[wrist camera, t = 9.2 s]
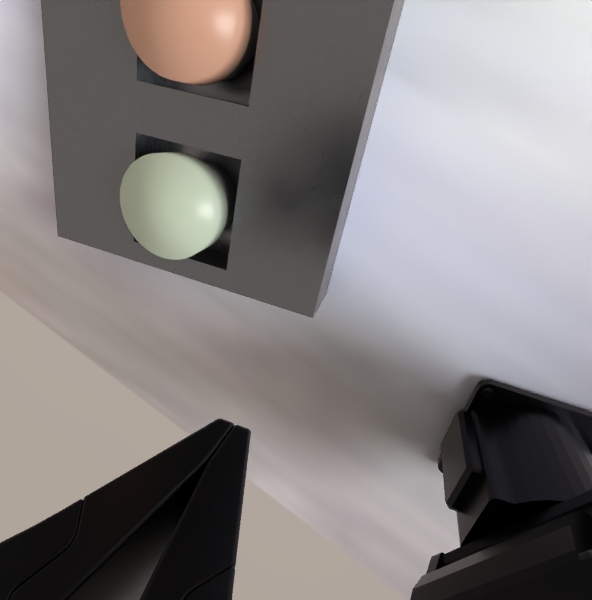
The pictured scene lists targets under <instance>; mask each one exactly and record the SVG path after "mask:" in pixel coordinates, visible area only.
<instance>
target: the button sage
mask: <svg viewBox="0 0 592 600" xmlns="http://www.w3.org/2000/svg"><path fill="white" fill-rule="evenodd" d="M235 204H236V195H235V190H234V187H233V185H232V183H231V181H230V179H229V177H228V176H227V175H226V173H225V172H224V171H223V170H222V169H221V168H220V167H218V166H217V165H215V164H213V163H211V162H209V161H206V160H201V159H199V158H197V157H195V156H193V155H191V154H188V153H183V152H165V153H152V154H147V155H144V156H142V157H140V158H138V159H137V160H135V161H134V162H133V163H132V164H131V165H130V166H129V168H128V169H127V171H126V172H125V174H124V176H123V179H122V182H121V187H120V205H121V210H122V214H123V217H124V220H125V222H126V224H127V226H128V228H129V230H130V232H131V233H132V235H133V236H134V237H135V239H136V240H137V241H138V242H139V243H140V244H141V245H142V246H143V247H144V248H145V249H147V250H148V251H150V252H151V253H153V254H155V255H157V256H159V257H162V258H166V259H171V260H180V259H185V258H188V257H191V256H193V255H194V254H196V253H198V252H200V251H202V250H204V249H206V248H207V247H209V246H211V245H212V244H213V243H215V242H216V241H217V240H218V239H219V237H220V236H221V234H222V232H223V230H224V229H225V228H226V227H227V226H228V225H229V224H230V222H231V221H232V219H233V217H234V211H235Z"/></svg>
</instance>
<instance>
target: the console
mask: <svg viewBox="0 0 592 600" xmlns="http://www.w3.org/2000/svg"><path fill="white" fill-rule="evenodd" d="M253 2H254V4H255V7H256V10H257V14H258V18H259V33H258V41H257V48H256V52H255V54H254V56H253V58H252V60H251V62H250V63H249V65H248V66H247V67H246V68H245V69H244V70H243V71H242V72H241V73H240V74H239V75H237V76H235V77H233V78H230V79H227V80H221V81H219V82H217V83H214V84H211V85H206V86H197V85H190V84H186V83H182V82H178V81H173V80H170V79H167V78H164V77H162V76H160V75H158V74H157V73H155V72H154V71H152V70H151V69H150V68H149V67H148V66H146V65H145V63H144V62H143V61H142V60H141V59H140V58H139V56H138V55H137V53H136V52H135V50H134V48H133V47H132V45H131V43H130V41H129V38H128V36H127V33H126V30H125V27H124V24H123V19H122V14H121V7H120V0H41V7H42V21H43V35H44V49H45V63H46V77H47V91H48V105H49V119H50V133H51V147H52V161H53V175H54V189H55V203H56V216H57V230H58V236H60V237H63V238H66V239H69V240H72V241H75V242H79V243H82V244H85V245H88V246H91V247H94V248H97V249H100V250H103V251H107V252H110V253H113V254H116V255H119V256H122V257H125V258H128V259H131V260H134V261H138V262H141V263H144V264H147V265H150V266H153V267H156V268H159V269H162V270H166V271H169V272H172V273H175V274H178V275H181V276H184V277H187V278H190V279H194V280H197V281H200V282H203V283H206V284H209V285H212V286H215V287H218V288H221V289H225V290H228V291H231V292H234V293H237V294H240V295H243V296H246V297H249V298H253V299H256V300H259V301H262V302H265V303H268V304H271V305H274V306H277V307H280V308H284V309H287V310H290V311H293V312H296V313H299V314H302V315H305V316H308V317H312V318H313V316H314V315H315V313H316V311H317V309H318V308H319V306H320V304H321V302H322V300H323V299H324V297H325V295H326V292H327V289H328V285H329V281H330V277H331V274H332V270H333V266H334V262H335V259H336V255H337V251H338V247H339V244H340V240H341V236H342V232H343V229H344V225H345V221H346V217H347V214H348V210H349V206H350V202H351V199H352V195H353V191H354V187H355V184H356V180H357V176H358V172H359V169H360V165H361V161H362V157H363V154H364V150H365V146H366V142H367V139H368V135H369V131H370V127H371V124H372V120H373V116H374V112H375V109H376V105H377V101H378V97H379V94H380V90H381V86H382V82H383V79H384V75H385V71H386V67H387V64H388V60H389V56H390V52H391V49H392V45H393V41H394V37H395V34H396V30H397V26H398V22H399V19H400V15H401V11H402V7H403V4H404V0H253ZM165 152H183V153H188V154H191V155H193V156H195V157H197V158H199V159H201V160H206V161H209V162H211V163H213V164H215V165H217V166H218V167H220V168H221V169H222V170H223V171H224V172H225V173H226V175H227V176H228V177H229V179H230V181H231V183H232V185H233V187H234V190H235V195H236V204H235V211H234V217H233V219H232V221H231V222H230V224H229V225H228V226H227V227H226V228H225V229H224V230H223V232H222V234H221V236H220V237H219V239H218V240H217V241H216V242H215V243H213V244H212V245H211V246H209V247H207V248H206V249H204V250H202V251H200V252H198V253H196V254H194V255H193V256H191V257H188V258H185V259H180V260H171V259H166V258H162V257H159V256H157V255H155V254H153V253H151V252H150V251H148V250H147V249H145V248H144V247H143V246H142V245H141V244H140V243H139V242H138V241H137V240H136V239H135V237H134V236H133V235H132V233H131V232H130V230H129V228H128V226H127V224H126V222H125V220H124V217H123V214H122V210H121V205H120V187H121V182H122V179H123V176H124V174H125V172H126V171H127V169H128V168H129V166H130V165H131V164H132V163H133V162H134V161H135V160H137V159H138V158H140V157H142V156H144V155H147V154H152V153H165Z"/></svg>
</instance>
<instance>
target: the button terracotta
mask: <svg viewBox="0 0 592 600" xmlns="http://www.w3.org/2000/svg"><path fill="white" fill-rule="evenodd" d="M120 7H121V14H122V19H123V24H124V27H125V30H126V33H127V36H128V38H129V41H130V43H131V45H132V47H133V48H134V50H135V52H136V53H137V55H138V56H139V58H140V59H141V60H142V61H143V62H144V63H145V65H146V66H148V67H149V68H150V69H151V70H152V71H154V72H155V73H157V74H158V75H160V76H162V77H164V78H167V79H170V80H173V81H178V82H182V83H186V84H190V85H197V86H206V85H211V84H214V83H217V82H219V81H221V80H227V79H230V78H233V77H235V76H237V75H239V74H240V73H241V72H242V71H243V70H244V69H245V68H246V67H247V66H248V65H249V63H250V62H251V60H252V58H253V56H254V54H255V52H256V48H257V41H258V33H259V18H258V14H257V10H256V7H255V4H254V2H253V0H120Z"/></svg>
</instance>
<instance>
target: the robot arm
mask: <svg viewBox="0 0 592 600" xmlns="http://www.w3.org/2000/svg"><path fill="white" fill-rule="evenodd" d="M487 388H491V389H492V390H491V391H490V392H485V391H483V390H484V389H487ZM250 435H251V431H250V430H249V429H247V428H244V427H242V426H239V425H235V426H234V424H233V423H231V422H229V421H226V420H223V419H217V420H215V421H213V422H212V423H210V424H208V425H207V426H205V427H203V428H202V429H200V430H198V431H196V432H195V433H193V434H191V435H190V436H188V437H186V438H184V439H183V440H181V441H179V442H178V443H176V444H174V445H173V446H171V447H169V448H167V449H166V450H164V451H162V452H161V453H159V454H157V455H156V456H154V457H152V458H150V459H149V460H147V461H145V462H144V463H142V464H140V465H138V466H137V467H135V468H133V469H132V470H130V471H128V472H127V473H125V474H123V475H121V476H120V477H118V478H116V479H115V480H113V481H111V482H109V483H108V484H106V485H104V486H103V487H101V488H99V489H98V490H96V491H94V492H92V493H91V494H89V495H87V496H86V497H85V498H84V500H82V499H80V500H79V501H77V502H75V503H73V504H72V505H70V506H68V507H67V508H65V509H63V510H61V511H60V512H58V513H56V514H54V515H52V516H51V517H49V518H47V519H45V520H43V521H42V522H40V523H38V524H36V525H34V526H32V527H30V528H29V529H27V530H25V531H23V532H21V533H19V534H17V535H15V536H13V537H11V538H9V539H7V540H5V541H3V542H1V543H0V600H232V593H233V583H234V575H235V564H236V555H237V547H238V539H239V530H240V520H241V513H242V504H243V495H244V487H245V478H246V470H247V461H248V452H249V444H250ZM438 468H439V470H440V471H441V472H442V473H443V478H444V490H445V502H446V504H447V506H448V508H449V509H452V510H454V511H457V520H458V529H459V538H460V548H457V549H455V550H453V551H451V552H448V553H446V554H444V553H439V554H437V555H435V556H432V558H431V560H430V563H429V567H428V570H427V573H426V575H423V576H422V577H421V579H420V580H419V581H418V583H417V584H416V585H415V587H414V588H413V590H412V595H411V600H592V413H591V412H588V411H585V410H582V409H579V408H576V407H573V406H569V405H566V404H563V403H560V402H557V401H554V400H551V399H548V398H545V397H542V396H539V395H535V394H532V393H529V392H526V391H523V390H520V389H517V388H514V387H511V386H508V385H505V384H502V383H498V382H495V381H492V380H482V381H480V382H479V383H478V384H477V386H476V388H475V390H474V392H473V394H472V396H471V398H470V399H469V401H468V403H467V405H466V407H465V409H464V410H461V411H459V412H457V413H456V415H455V417H454V419H453V421H452V423H451V425H450V427H449V429H448V431H447V433H446V435H445V437H444V439H443V441H442V443H441V455H440V457H439V459H438Z"/></svg>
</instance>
